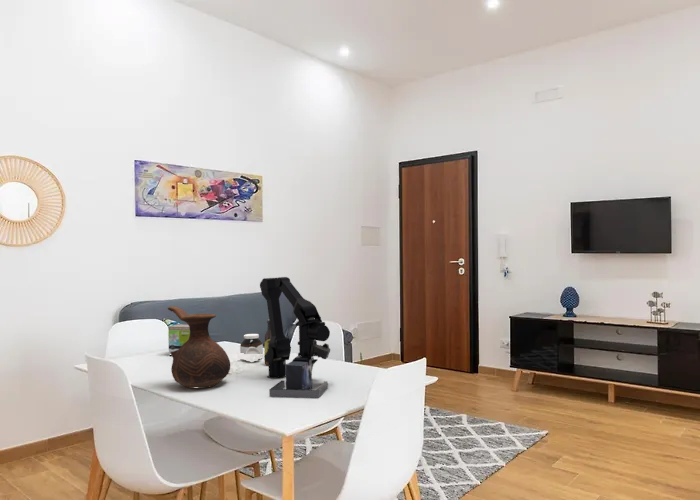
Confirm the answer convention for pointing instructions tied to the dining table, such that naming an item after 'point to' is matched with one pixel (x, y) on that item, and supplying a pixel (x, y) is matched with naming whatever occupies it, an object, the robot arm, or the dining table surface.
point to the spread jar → (251, 344)
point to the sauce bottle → (267, 340)
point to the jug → (198, 354)
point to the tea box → (178, 336)
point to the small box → (298, 375)
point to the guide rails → (297, 391)
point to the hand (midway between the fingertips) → (307, 380)
